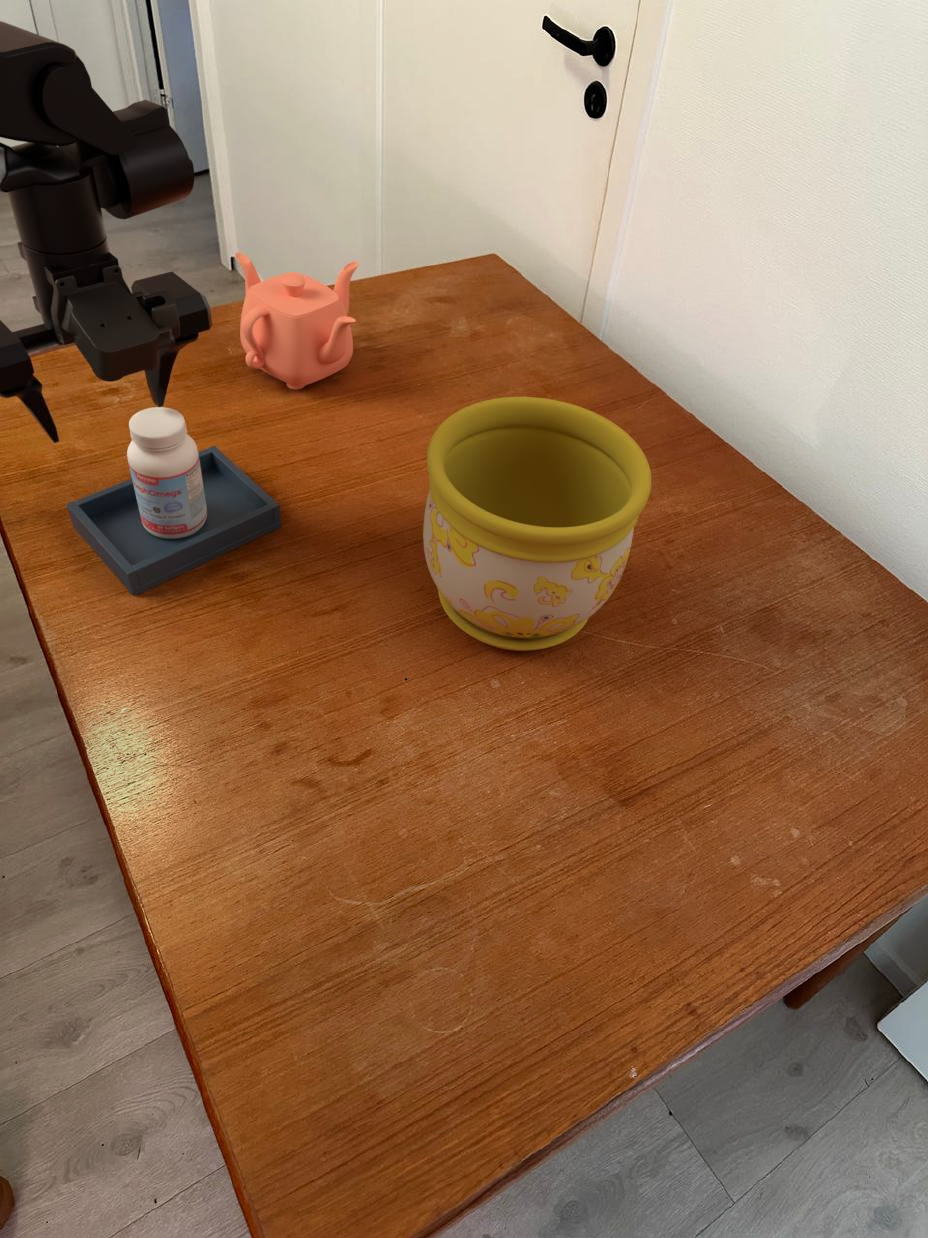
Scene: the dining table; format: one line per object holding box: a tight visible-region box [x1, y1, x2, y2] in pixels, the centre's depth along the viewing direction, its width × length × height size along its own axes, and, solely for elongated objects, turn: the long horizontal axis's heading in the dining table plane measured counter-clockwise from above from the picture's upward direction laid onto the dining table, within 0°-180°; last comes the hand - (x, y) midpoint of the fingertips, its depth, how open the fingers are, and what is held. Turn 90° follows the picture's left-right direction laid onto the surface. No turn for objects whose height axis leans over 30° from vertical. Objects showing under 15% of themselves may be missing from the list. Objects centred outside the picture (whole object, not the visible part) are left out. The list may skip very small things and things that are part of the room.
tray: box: [65, 445, 282, 597], centre depth 83 cm, size 16×12×3 cm
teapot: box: [234, 252, 360, 390], centre depth 100 cm, size 14×14×11 cm
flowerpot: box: [422, 396, 652, 652], centre depth 75 cm, size 18×18×16 cm
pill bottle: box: [126, 406, 207, 539], centre depth 79 cm, size 6×6×11 cm
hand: (108, 421), depth 73 cm, fingers open, 9 cm apart
